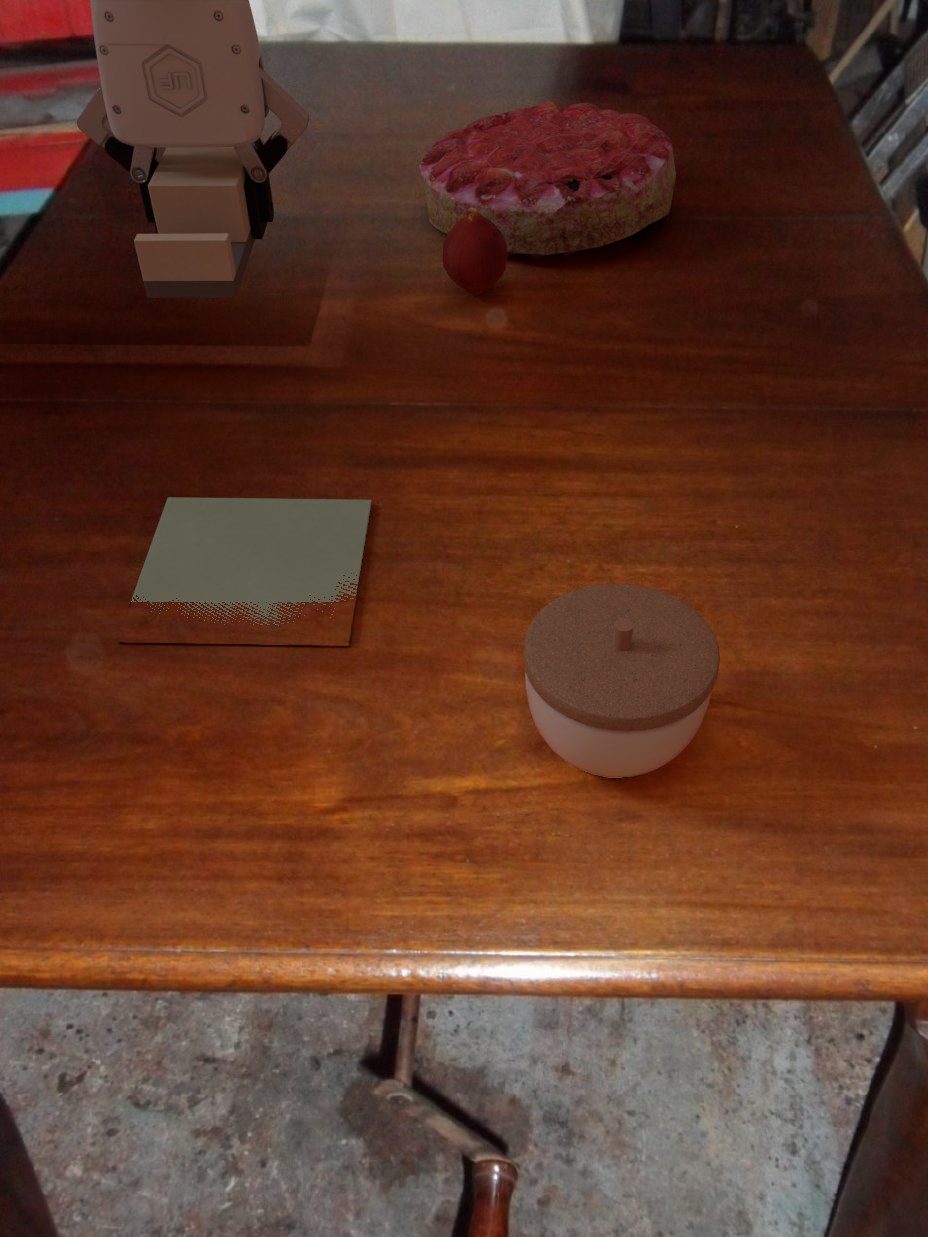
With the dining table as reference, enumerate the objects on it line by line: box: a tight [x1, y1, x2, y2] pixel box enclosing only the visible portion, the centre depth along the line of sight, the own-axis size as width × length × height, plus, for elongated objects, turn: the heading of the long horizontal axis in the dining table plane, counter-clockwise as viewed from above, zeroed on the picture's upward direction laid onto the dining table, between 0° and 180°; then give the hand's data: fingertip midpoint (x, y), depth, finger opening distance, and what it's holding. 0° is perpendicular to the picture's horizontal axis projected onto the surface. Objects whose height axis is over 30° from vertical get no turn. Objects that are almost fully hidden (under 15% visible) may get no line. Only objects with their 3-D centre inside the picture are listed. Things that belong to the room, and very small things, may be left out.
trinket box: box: [522, 582, 721, 778], centre depth 65 cm, size 11×11×9 cm
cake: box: [418, 101, 677, 259], centre depth 114 cm, size 25×25×8 cm
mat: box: [130, 496, 373, 626], centre depth 79 cm, size 15×15×1 cm
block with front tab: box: [133, 147, 256, 299], centre depth 80 cm, size 15×6×5 cm, turn 179°
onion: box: [441, 208, 508, 296], centre depth 103 cm, size 6×6×8 cm
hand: (213, 229), depth 83 cm, fingers closed on block with front tab, 6 cm apart
